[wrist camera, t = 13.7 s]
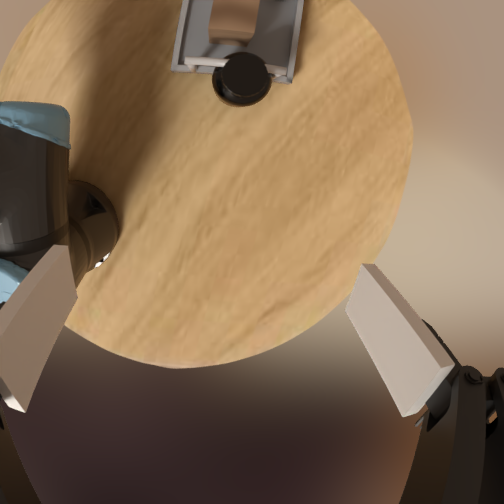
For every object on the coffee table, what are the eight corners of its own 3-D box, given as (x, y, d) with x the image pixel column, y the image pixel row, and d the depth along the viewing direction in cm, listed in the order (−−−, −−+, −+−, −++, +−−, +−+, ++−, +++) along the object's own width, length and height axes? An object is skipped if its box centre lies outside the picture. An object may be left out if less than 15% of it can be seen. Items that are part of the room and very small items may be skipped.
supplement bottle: (252, 56, 34) (267, 37, 24) (268, 98, 38) (288, 95, 27) (205, 71, 35) (202, 57, 24) (222, 114, 38) (225, 115, 27)
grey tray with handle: (173, 73, 34) (161, 63, 25) (193, -29, 26) (189, -61, 17) (285, 85, 37) (307, 79, 28) (300, -15, 29) (323, -42, 20)
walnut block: (214, 12, 29) (215, -9, 22) (251, 16, 30) (260, -3, 23) (209, 43, 31) (208, 28, 24) (246, 47, 32) (254, 33, 25)
